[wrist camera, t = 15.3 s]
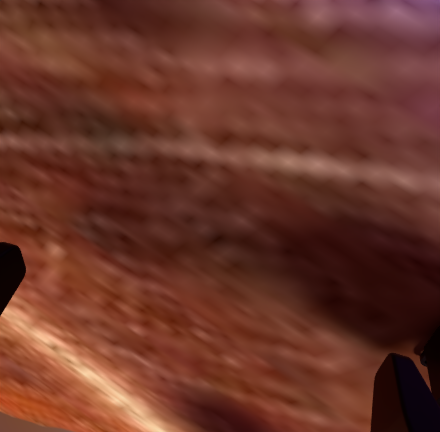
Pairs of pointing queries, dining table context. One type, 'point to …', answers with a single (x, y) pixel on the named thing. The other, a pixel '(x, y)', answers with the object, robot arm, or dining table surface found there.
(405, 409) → the robot arm
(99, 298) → the dining table surface
